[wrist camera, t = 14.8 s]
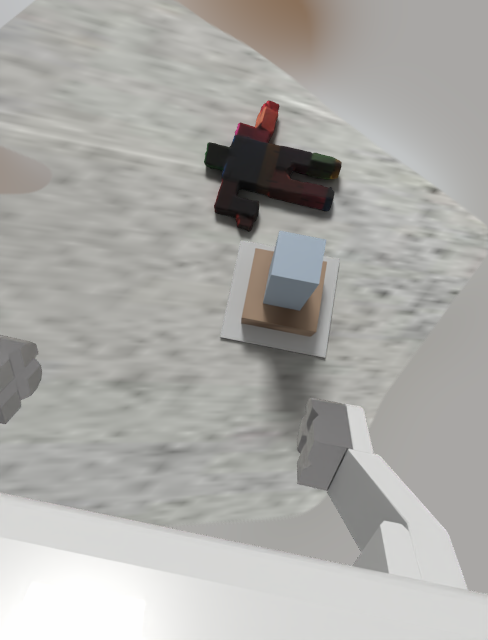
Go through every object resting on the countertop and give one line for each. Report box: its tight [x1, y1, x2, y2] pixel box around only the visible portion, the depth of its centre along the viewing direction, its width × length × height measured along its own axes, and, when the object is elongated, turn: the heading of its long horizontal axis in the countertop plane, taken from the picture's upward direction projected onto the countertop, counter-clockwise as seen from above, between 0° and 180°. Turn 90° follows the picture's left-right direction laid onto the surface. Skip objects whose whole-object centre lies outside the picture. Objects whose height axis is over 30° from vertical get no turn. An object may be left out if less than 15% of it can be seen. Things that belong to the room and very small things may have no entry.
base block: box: [241, 248, 327, 337], centre depth 40 cm, size 8×8×3 cm
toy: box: [204, 101, 341, 232], centre depth 44 cm, size 15×16×3 cm
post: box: [263, 231, 326, 311], centre depth 34 cm, size 4×4×9 cm
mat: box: [220, 240, 340, 358], centre depth 42 cm, size 12×12×1 cm
